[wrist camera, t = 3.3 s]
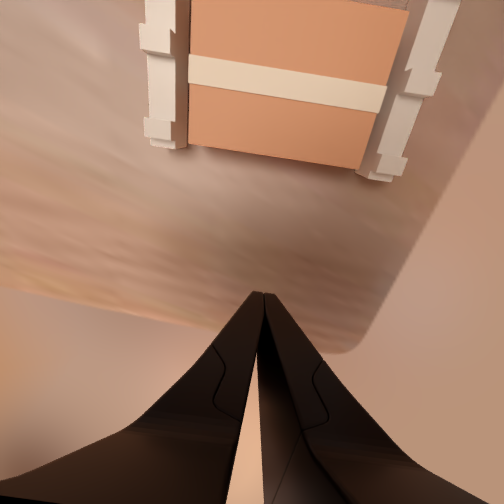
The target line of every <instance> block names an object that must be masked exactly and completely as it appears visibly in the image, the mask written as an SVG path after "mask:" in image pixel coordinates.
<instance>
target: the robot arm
mask: <svg viewBox="0 0 504 504" xmlns="http://www.w3.org/2000/svg"><path fill="white" fill-rule="evenodd" d="M256 353H257V371H258V389H259V390H258V391H259V411H260V431H261V451H262V471H263V491H264V504H488V503H487V502H485V501H483V500H481V499H479V498H477V497H475V496H474V495H472V494H470V493H468V492H466V491H464V490H463V489H461V488H459V487H457V486H455V485H454V484H452V483H450V482H448V481H446V480H444V479H442V478H441V477H439V476H437V475H435V474H433V473H432V472H430V471H428V470H426V469H425V468H423V467H422V466H420V465H419V464H417V463H416V462H415V461H413V460H412V459H411V458H410V457H409V456H408V455H407V454H406V453H404V452H403V451H402V450H401V449H400V448H399V447H398V446H397V445H396V443H394V442H393V440H392V439H391V438H390V437H389V436H388V435H387V434H386V432H385V431H384V430H383V429H382V428H381V427H380V426H379V425H378V424H377V422H376V421H375V420H374V419H373V418H372V417H371V416H370V415H369V413H368V412H367V411H366V410H365V409H364V408H363V407H362V406H361V405H360V403H358V401H357V400H356V399H355V398H354V397H353V395H352V394H351V393H350V392H349V391H348V390H347V389H346V387H345V386H344V385H343V384H342V383H341V381H340V380H339V379H338V377H337V376H336V375H335V374H334V373H333V371H332V370H331V368H330V367H329V366H328V364H327V363H326V362H325V361H324V360H323V358H322V357H321V355H320V354H319V353H318V351H317V350H316V349H315V347H314V346H313V344H312V343H311V342H310V340H309V339H308V338H307V336H306V335H305V334H304V332H303V331H302V330H301V328H300V327H299V326H298V324H297V323H296V322H295V320H294V319H293V318H292V316H291V315H290V314H289V312H288V311H287V310H286V308H285V307H284V306H283V304H282V303H281V302H280V300H279V299H278V297H277V296H276V295H275V294H272V293H264V294H263V293H262V292H257V291H252V292H251V294H250V295H249V296H248V297H247V299H246V300H245V301H244V302H243V304H242V305H241V306H240V307H239V309H238V310H237V311H236V313H235V314H234V315H233V316H232V318H231V319H230V320H229V321H228V323H227V324H226V325H225V327H224V328H223V329H222V330H221V332H220V333H219V334H218V335H217V337H216V338H215V339H214V340H213V342H212V343H211V345H210V346H209V347H208V348H207V349H206V350H205V352H204V353H203V354H202V355H201V357H200V358H199V359H198V360H197V361H196V362H195V364H194V365H193V366H192V367H191V368H190V369H189V370H188V371H187V372H186V373H185V374H184V375H183V376H182V377H181V378H180V379H179V380H178V381H177V382H176V383H175V384H174V385H173V386H172V387H171V388H170V389H169V390H168V391H167V392H166V393H165V394H163V395H162V396H161V397H160V398H159V399H158V400H157V401H156V402H155V403H154V404H153V405H152V406H151V407H150V408H149V409H148V410H147V411H146V412H145V413H144V414H143V415H142V416H140V417H139V418H138V419H137V420H136V421H134V422H133V423H132V424H130V425H129V426H127V427H126V428H124V429H122V430H121V431H119V432H117V433H115V434H112V435H110V436H108V437H106V438H103V439H101V440H99V441H97V442H95V443H92V444H90V445H88V446H85V447H83V448H81V449H79V450H77V451H75V452H72V453H70V454H68V455H65V456H63V457H61V458H59V459H56V460H54V461H52V462H50V463H48V464H45V465H43V466H41V467H39V468H36V469H34V470H32V471H29V472H26V473H24V474H21V475H19V476H16V477H12V478H9V479H5V480H1V481H0V504H226V500H227V495H228V490H229V485H230V480H231V475H232V470H233V465H234V461H235V456H236V451H237V446H238V441H239V436H240V431H241V426H242V421H243V417H244V412H245V407H246V402H247V397H248V392H249V387H250V383H251V378H252V372H253V368H254V363H255V358H256Z"/></svg>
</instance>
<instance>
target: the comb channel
mask: <svg viewBox="0 0 504 504" xmlns="http://www.w3.org/2000/svg"><path fill="white" fill-rule="evenodd" d="M460 3H461V0H409V1H408V4H407V7H406V10H405V11H410V12H409V15H408V19H407V22H406V25H405V28H404V31H403V34H402V37H401V40H400V43H399V47H398V50H397V53H396V56H395V59H394V62H393V65H392V68H391V72H390V75H389V78H388V81H387V84H386V86H387V90H386V93H385V96H384V99H383V102H382V105H381V108H380V111H379V113H377V115H376V118H375V121H374V125H373V128H372V131H371V134H370V137H369V140H368V143H367V146H366V150H365V153H364V156H363V159H362V162H361V165H360V168H359V170H357V169H355V173H356V174H359V175H361V176H363V177H365V178H367V179H373V180H379V181H386V182H392V180H393V177H394V175H396V176H401V175H402V173H403V170H404V168H405V165H406V163H407V160H408V158H405V157H401V156H402V154H403V151H404V148H405V146H406V143H407V141H408V138H409V135H410V133H411V130H412V128H413V125H414V122H415V120H416V117H417V115H418V112H419V109H420V107H421V104H422V102H423V99H424V98H428V97H432V96H433V95H434V92H435V90H436V87H437V85H438V82H439V80H440V77H441V75H442V73H441V72H434V71H435V68H436V65H437V63H438V60H439V58H440V55H441V52H442V50H443V47H444V45H445V42H446V39H447V37H448V34H449V32H450V29H451V26H452V24H453V21H454V19H455V16H456V13H457V11H458V8H459V6H460ZM189 10H190V0H145V17H146V24H143V23H139V37H140V49H141V50H143V51H144V52H146V53H147V66H148V91H149V116H150V118H149V117H144V136H145V137H150V140H151V146H158V147H164V148H171V149H179V148H184V147H187V112H188V61H189Z"/></svg>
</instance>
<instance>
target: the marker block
mask: <svg viewBox="0 0 504 504" xmlns="http://www.w3.org/2000/svg"><path fill="white" fill-rule="evenodd" d="M409 12H410V11H405V10H399V9H393V8H387V7H381V6H376V5H370V4H364V3H358V2H352V1H346V0H191V44H190V54H189V65H188V83H189V84H190V90H189V135H188V143H189V144H195V145H202V146H208V147H215V148H221V149H228V150H234V151H241V152H247V153H254V154H260V155H267V156H273V157H279V158H286V159H292V160H299V161H305V162H312V163H318V164H325V165H331V166H338V167H344V168H351V169H357V170H359V168H360V165H361V162H362V159H363V156H364V153H365V150H366V146H367V143H368V140H369V137H370V134H371V131H372V128H373V125H374V121H375V118H376V115H377V113H379V111H380V108H381V105H382V102H383V99H384V96H385V93H386V90H387V86H386V84H387V81H388V78H389V75H390V72H391V68H392V65H393V62H394V59H395V56H396V53H397V50H398V47H399V43H400V40H401V37H402V34H403V31H404V28H405V25H406V22H407V19H408V15H409Z"/></svg>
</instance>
